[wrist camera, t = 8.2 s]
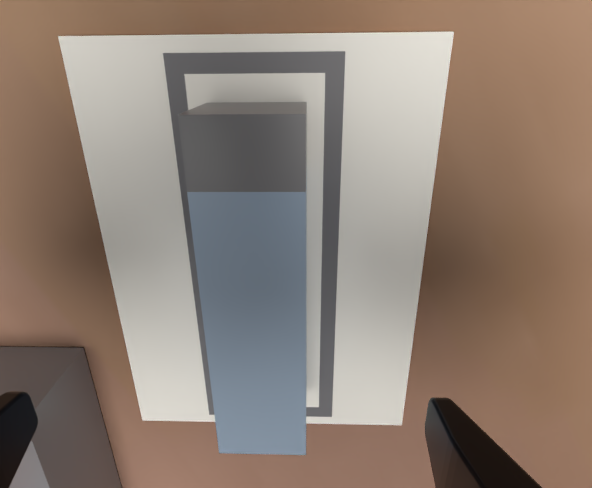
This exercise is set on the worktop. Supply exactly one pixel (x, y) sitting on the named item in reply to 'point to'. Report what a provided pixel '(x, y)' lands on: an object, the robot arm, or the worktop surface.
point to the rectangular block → (251, 267)
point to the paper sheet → (320, 199)
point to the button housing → (60, 419)
